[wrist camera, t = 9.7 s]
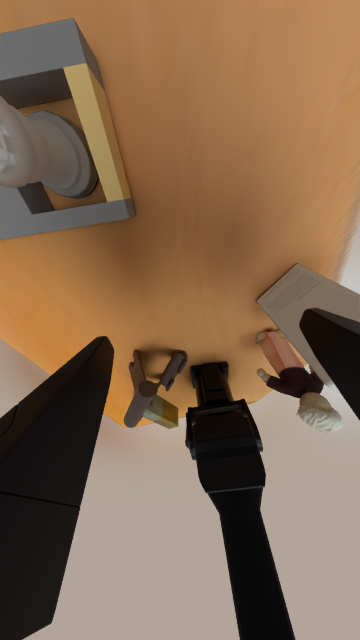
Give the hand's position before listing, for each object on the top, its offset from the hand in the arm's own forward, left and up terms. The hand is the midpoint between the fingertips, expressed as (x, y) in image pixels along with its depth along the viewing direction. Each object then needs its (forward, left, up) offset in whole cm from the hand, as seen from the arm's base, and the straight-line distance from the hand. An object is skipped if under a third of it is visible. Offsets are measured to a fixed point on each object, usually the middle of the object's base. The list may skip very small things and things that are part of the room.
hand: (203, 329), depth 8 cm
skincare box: (-6, -12, -12) cm, 18 cm away
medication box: (-29, +9, -12) cm, 33 cm away
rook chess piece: (+8, +8, -12) cm, 17 cm away
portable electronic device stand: (-17, +7, -12) cm, 22 cm away
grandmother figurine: (-14, -11, -12) cm, 22 cm away
